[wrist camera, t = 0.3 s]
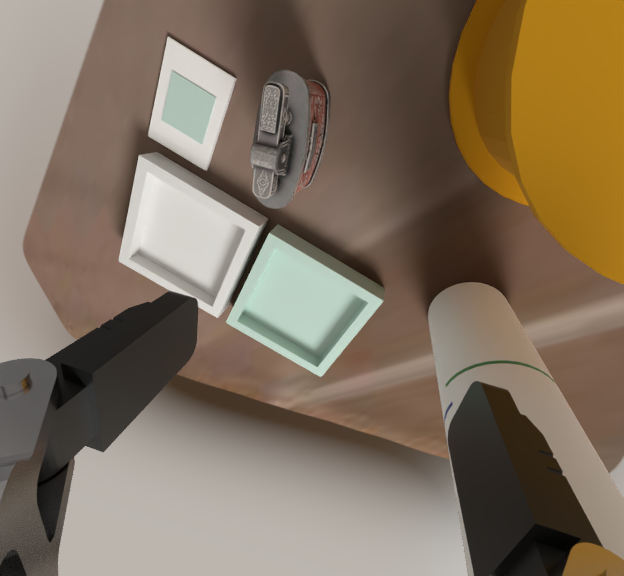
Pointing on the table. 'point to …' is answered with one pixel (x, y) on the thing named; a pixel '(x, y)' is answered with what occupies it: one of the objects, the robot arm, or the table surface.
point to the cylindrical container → (517, 395)
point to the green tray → (303, 301)
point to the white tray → (188, 233)
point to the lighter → (288, 137)
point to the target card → (190, 104)
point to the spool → (548, 116)
